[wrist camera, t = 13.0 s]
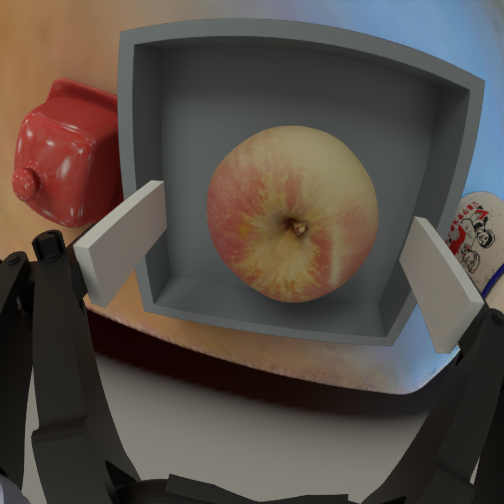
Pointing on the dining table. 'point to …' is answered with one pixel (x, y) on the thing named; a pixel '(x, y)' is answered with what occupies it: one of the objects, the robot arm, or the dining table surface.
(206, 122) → the bin
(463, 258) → the teacup with lid
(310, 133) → the apple
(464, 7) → the dining table surface
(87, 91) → the butter dish
